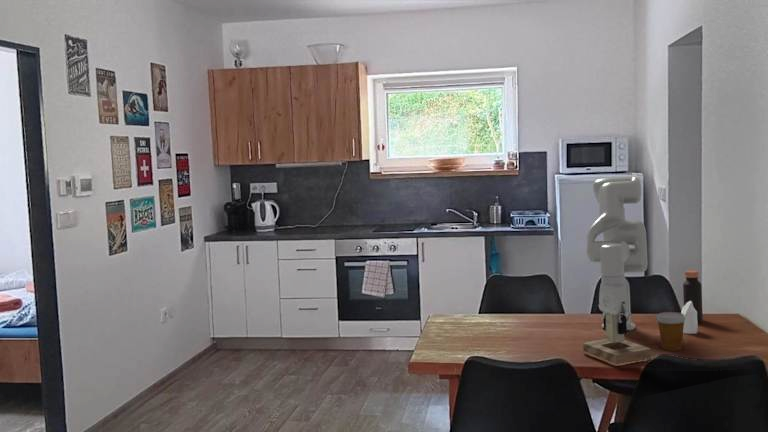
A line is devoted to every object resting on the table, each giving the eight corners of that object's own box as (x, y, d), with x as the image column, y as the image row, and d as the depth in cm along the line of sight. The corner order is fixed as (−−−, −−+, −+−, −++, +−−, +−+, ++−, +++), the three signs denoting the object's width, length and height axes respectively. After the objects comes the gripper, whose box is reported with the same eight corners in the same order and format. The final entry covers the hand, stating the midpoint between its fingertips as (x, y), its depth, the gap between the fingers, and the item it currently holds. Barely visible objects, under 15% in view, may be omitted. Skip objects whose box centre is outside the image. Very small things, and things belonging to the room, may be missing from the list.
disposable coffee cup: (683, 353, 247) (682, 318, 246) (654, 350, 252) (653, 317, 251) (688, 345, 255) (687, 312, 254) (660, 343, 260) (659, 311, 259)
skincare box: (605, 338, 250) (604, 304, 249) (618, 337, 251) (616, 303, 250) (613, 343, 244) (611, 308, 243) (625, 342, 244) (624, 306, 243)
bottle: (680, 320, 290) (678, 271, 288) (693, 317, 292) (691, 269, 291) (693, 323, 283) (692, 273, 282) (706, 320, 286) (704, 271, 284)
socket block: (583, 354, 254) (583, 343, 254) (616, 347, 259) (616, 336, 258) (616, 367, 237) (615, 355, 237) (650, 360, 242) (650, 348, 241)
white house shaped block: (676, 300, 273) (689, 298, 275) (678, 331, 274) (690, 329, 276) (688, 303, 268) (700, 301, 269) (689, 334, 269) (701, 332, 270)
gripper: (588, 278, 253) (590, 328, 254) (620, 285, 236) (622, 338, 238) (606, 275, 255) (608, 324, 256) (638, 282, 239) (641, 335, 240)
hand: (615, 331), depth 247 cm, fingers closed on skincare box, 6 cm apart
